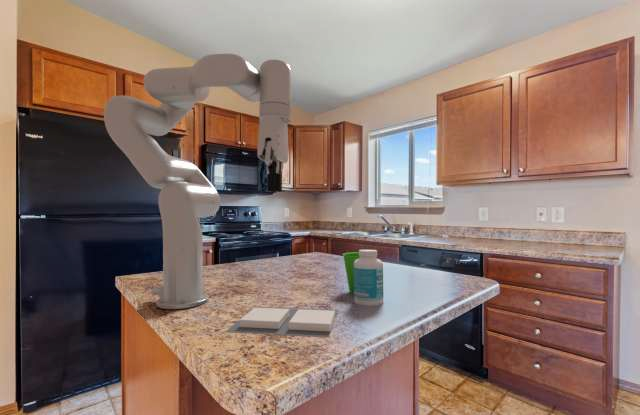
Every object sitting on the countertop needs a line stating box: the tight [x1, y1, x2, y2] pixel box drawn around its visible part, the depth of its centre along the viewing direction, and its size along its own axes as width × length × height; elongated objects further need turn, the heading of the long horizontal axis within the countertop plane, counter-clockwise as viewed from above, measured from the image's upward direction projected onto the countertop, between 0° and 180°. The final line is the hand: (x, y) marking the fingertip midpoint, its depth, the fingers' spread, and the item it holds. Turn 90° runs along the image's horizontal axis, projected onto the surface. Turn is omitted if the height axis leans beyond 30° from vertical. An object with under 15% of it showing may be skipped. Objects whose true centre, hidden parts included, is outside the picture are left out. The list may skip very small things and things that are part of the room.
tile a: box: [239, 307, 290, 329], centre depth 65 cm, size 8×2×8 cm
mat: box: [225, 306, 339, 338], centre depth 66 cm, size 20×16×1 cm
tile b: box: [289, 308, 336, 332], centre depth 63 cm, size 8×2×8 cm
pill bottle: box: [353, 249, 384, 307], centre depth 79 cm, size 8×7×14 cm
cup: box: [342, 251, 360, 295], centre depth 90 cm, size 9×9×11 cm
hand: (274, 191), depth 75 cm, fingers closed
